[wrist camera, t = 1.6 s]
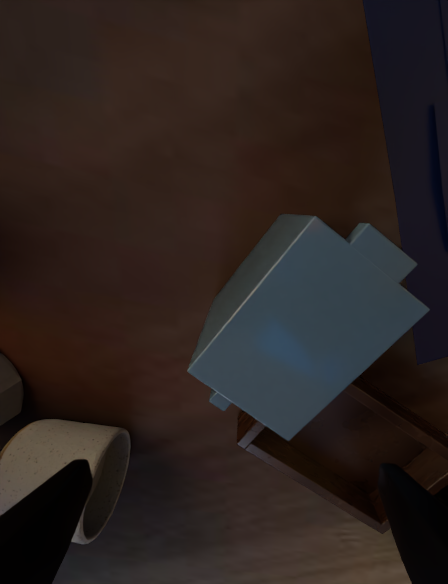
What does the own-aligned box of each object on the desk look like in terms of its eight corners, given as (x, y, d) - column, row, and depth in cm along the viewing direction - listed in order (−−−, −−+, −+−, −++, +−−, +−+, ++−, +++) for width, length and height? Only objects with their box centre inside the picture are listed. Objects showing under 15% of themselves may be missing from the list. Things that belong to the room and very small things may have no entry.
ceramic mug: (42, 398, 25) (-42, 477, 18) (130, 408, 25) (81, 493, 17) (55, 485, 28) (-11, 582, 21) (134, 495, 28) (93, 598, 21)
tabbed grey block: (351, 252, 20) (451, 291, 10) (254, 359, 22) (259, 468, 13) (289, 202, 19) (334, 192, 9) (198, 318, 22) (160, 402, 12)
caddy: (445, 434, 23) (473, 465, 20) (367, 498, 26) (382, 534, 23) (305, 338, 22) (314, 358, 19) (237, 416, 24) (236, 444, 21)
